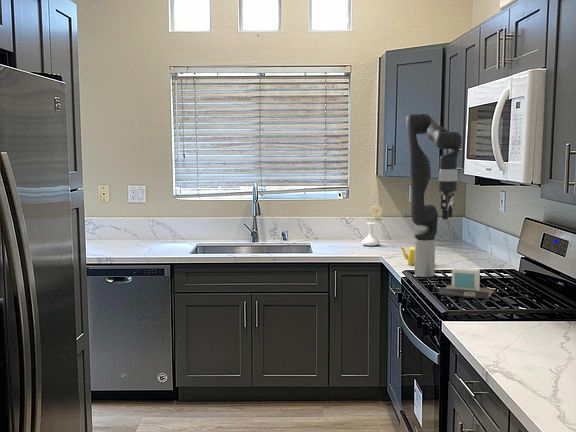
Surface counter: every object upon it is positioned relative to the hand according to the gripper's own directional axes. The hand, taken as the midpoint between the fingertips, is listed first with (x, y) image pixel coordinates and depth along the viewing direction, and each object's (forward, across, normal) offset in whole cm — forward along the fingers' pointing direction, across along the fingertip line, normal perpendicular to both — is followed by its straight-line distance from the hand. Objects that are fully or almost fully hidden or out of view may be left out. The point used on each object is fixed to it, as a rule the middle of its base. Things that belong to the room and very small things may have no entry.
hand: (447, 218), depth 262 cm
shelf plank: (+30, -9, -10) cm, 33 cm away
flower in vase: (+30, +96, +66) cm, 120 cm away
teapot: (+30, +49, +26) cm, 63 cm away
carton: (+29, -13, -10) cm, 33 cm away
